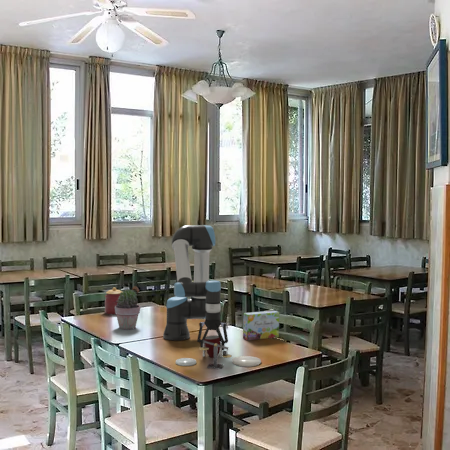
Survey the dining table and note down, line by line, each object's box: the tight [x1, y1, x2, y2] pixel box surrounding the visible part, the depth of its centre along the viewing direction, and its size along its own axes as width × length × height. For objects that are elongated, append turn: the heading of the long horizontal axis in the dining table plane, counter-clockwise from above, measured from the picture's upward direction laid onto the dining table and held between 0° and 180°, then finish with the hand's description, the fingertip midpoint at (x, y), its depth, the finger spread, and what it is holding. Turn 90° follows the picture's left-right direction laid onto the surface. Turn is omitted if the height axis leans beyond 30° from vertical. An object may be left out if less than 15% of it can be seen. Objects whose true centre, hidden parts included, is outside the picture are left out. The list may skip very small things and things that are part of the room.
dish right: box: [231, 355, 262, 368], centre depth 281 cm, size 14×14×1 cm
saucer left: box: [175, 357, 197, 367], centre depth 279 cm, size 10×10×1 cm
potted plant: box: [114, 285, 143, 330], centre depth 351 cm, size 18×20×25 cm
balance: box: [199, 340, 232, 370], centre depth 273 cm, size 15×5×12 cm, turn 83°
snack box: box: [242, 310, 280, 341], centre depth 331 cm, size 21×6×15 cm, turn 117°
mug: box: [204, 334, 221, 359], centre depth 290 cm, size 11×8×10 cm
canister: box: [104, 287, 123, 315], centre depth 397 cm, size 13×13×18 cm
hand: (212, 356), depth 290 cm, fingers closed on mug, 8 cm apart
